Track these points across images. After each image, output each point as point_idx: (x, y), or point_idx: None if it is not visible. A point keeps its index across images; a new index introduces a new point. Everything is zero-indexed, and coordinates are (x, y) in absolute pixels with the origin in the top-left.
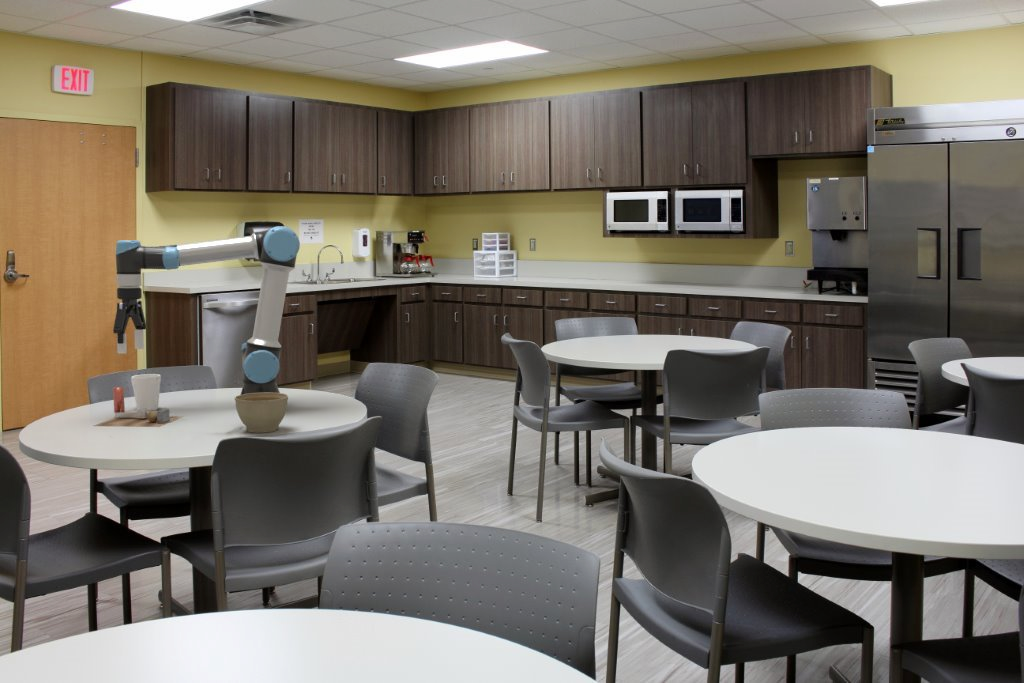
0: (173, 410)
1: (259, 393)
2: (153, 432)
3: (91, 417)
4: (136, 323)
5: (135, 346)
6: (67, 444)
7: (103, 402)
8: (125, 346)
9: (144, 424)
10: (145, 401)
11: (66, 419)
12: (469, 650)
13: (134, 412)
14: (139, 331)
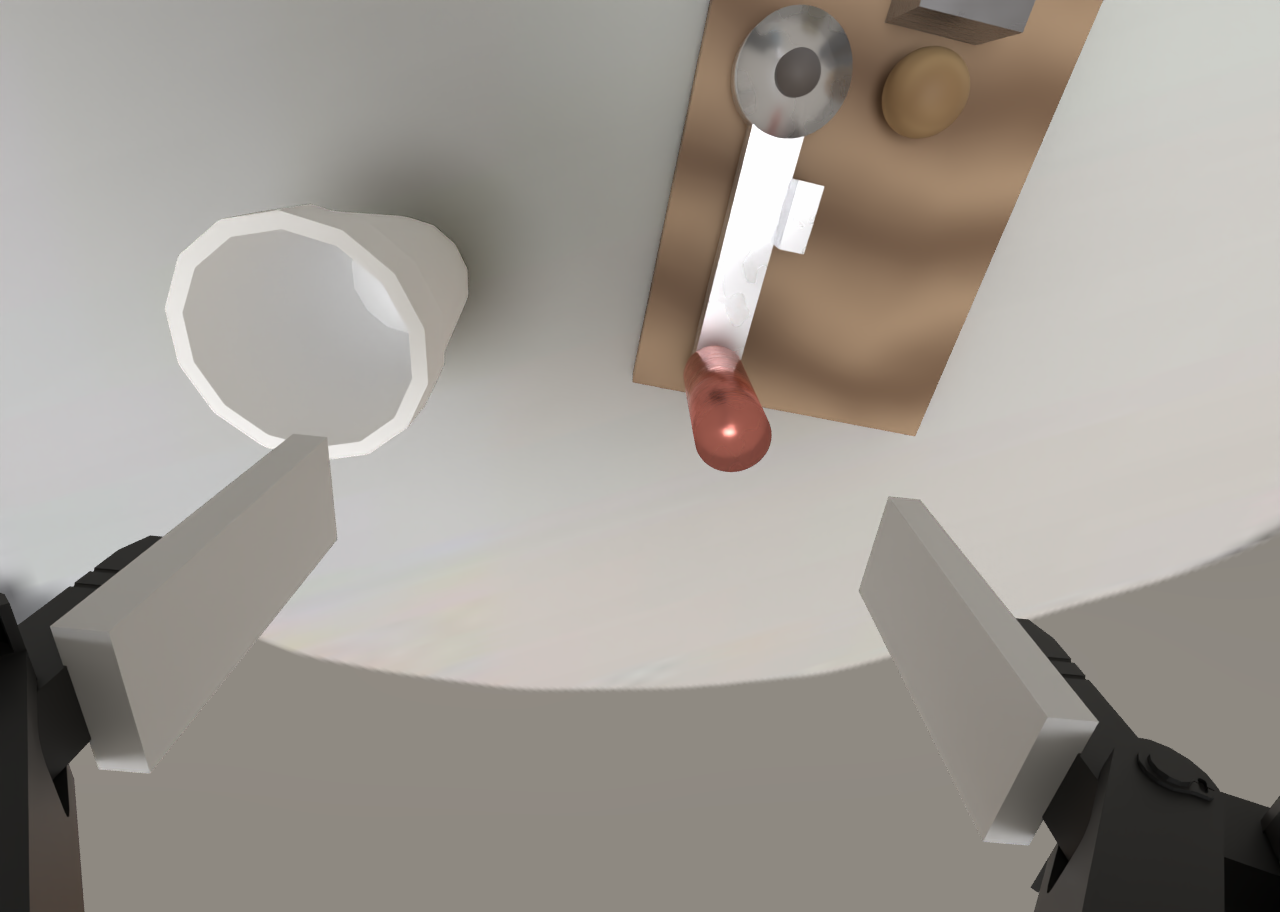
0: (303, 123)
1: None
2: (1098, 38)
3: (535, 537)
4: (63, 883)
5: (320, 549)
6: (1230, 434)
7: None
8: (964, 557)
9: (976, 136)
10: (456, 287)
11: (578, 622)
12: None
13: (759, 271)
14: (154, 658)
